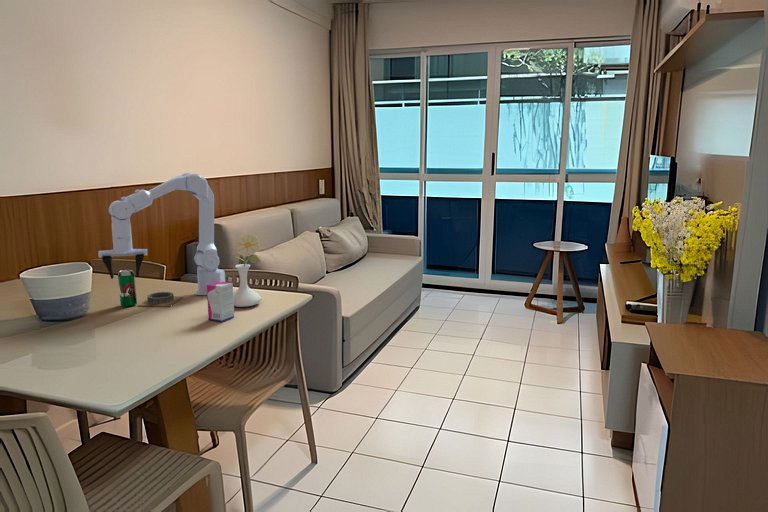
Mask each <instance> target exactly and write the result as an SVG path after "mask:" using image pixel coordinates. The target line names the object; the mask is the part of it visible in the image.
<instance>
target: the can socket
mask: <svg viewBox="0 0 768 512" xmlns="http://www.w3.org/2000/svg"><path fill="white" fill-rule="evenodd" d="M183 297H184V296H181V295H180V296H179V295H178V296H175V294H174V293H173V292H169V291H159V292H154V293H153V292H152V293H150V294H148V295H147V296H146V298H147V299H145V300H144V301H141V302H140V303H138V304H137V307H142V306H147V307H148V308H149V307H150V306H171V305H172V306H173V304H174V303H175V304H176V303H177V301H178V300H179V301H181V300H182V299H183ZM181 298H182V299H181ZM179 301H178V302H179ZM175 304H174V305H175ZM172 306H171V307H172Z"/></svg>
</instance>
